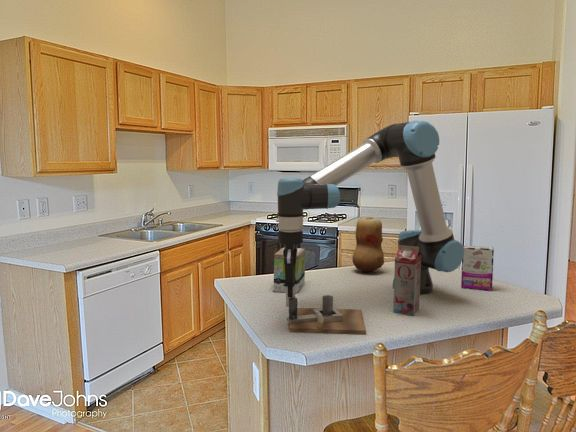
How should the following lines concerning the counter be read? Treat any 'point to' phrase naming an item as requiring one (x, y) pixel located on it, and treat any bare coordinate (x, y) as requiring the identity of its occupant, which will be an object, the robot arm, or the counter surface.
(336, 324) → the board
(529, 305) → the counter surface
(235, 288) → the counter surface
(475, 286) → the candy bar box
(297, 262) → the tea box
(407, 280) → the juice carton
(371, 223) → the butternut squash
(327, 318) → the square frame with handle
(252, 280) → the counter surface
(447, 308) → the counter surface
